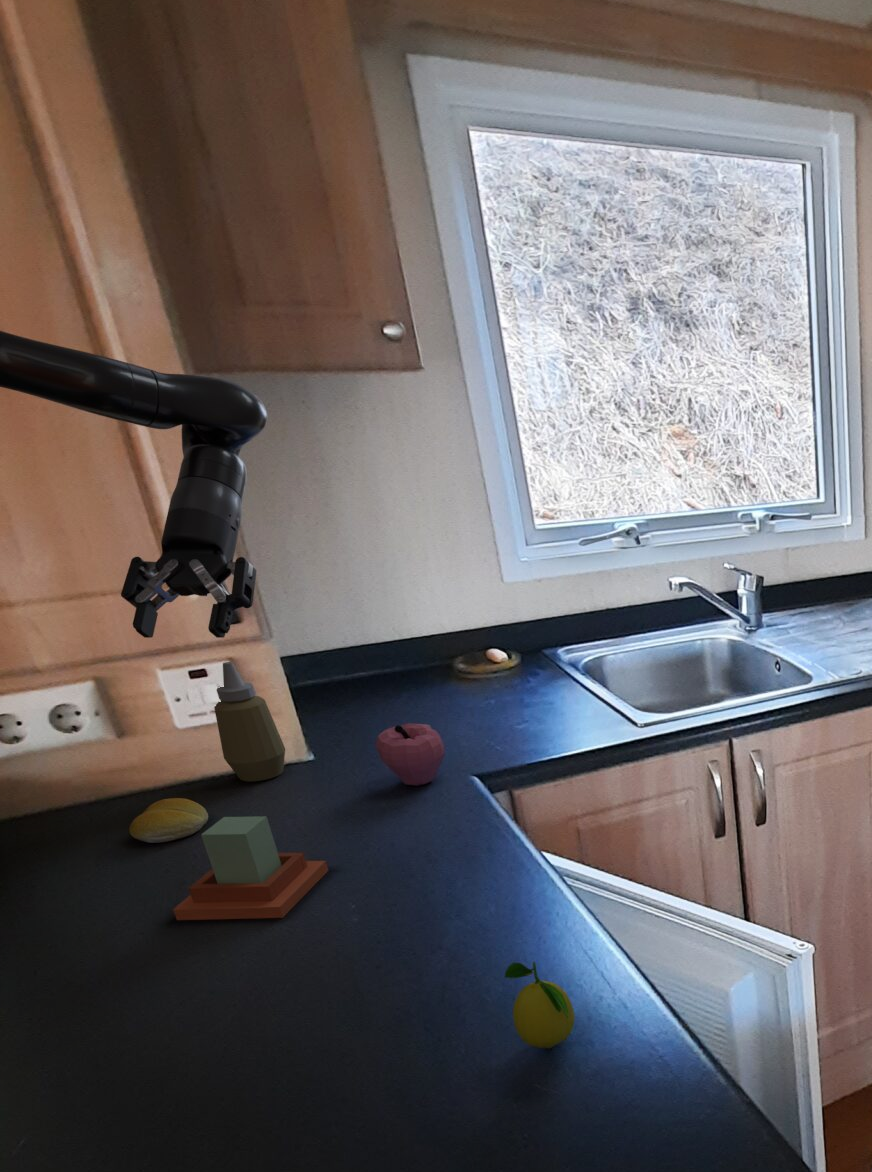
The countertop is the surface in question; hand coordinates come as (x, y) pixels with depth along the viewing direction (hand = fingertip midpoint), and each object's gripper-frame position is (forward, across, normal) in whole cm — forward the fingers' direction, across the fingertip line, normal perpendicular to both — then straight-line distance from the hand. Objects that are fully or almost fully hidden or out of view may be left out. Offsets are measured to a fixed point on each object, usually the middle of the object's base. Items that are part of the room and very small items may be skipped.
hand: (180, 634), depth 130 cm
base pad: (+31, +9, +10) cm, 34 cm away
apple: (+6, +15, +34) cm, 38 cm away
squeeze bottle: (+4, -10, +37) cm, 38 cm away
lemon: (+55, +53, -14) cm, 77 cm away
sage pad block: (+30, +9, +8) cm, 32 cm away
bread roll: (+18, -12, +23) cm, 31 cm away
